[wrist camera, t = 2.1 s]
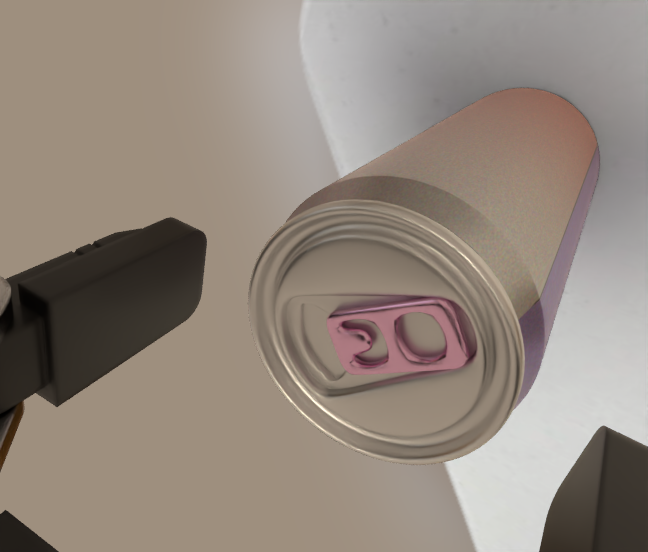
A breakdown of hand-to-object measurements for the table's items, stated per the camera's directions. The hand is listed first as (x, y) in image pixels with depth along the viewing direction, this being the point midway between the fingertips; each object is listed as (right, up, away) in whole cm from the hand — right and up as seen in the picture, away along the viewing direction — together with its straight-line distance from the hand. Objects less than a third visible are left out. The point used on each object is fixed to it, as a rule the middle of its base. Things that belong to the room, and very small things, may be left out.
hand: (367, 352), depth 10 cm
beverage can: (+7, +6, +12) cm, 15 cm away
